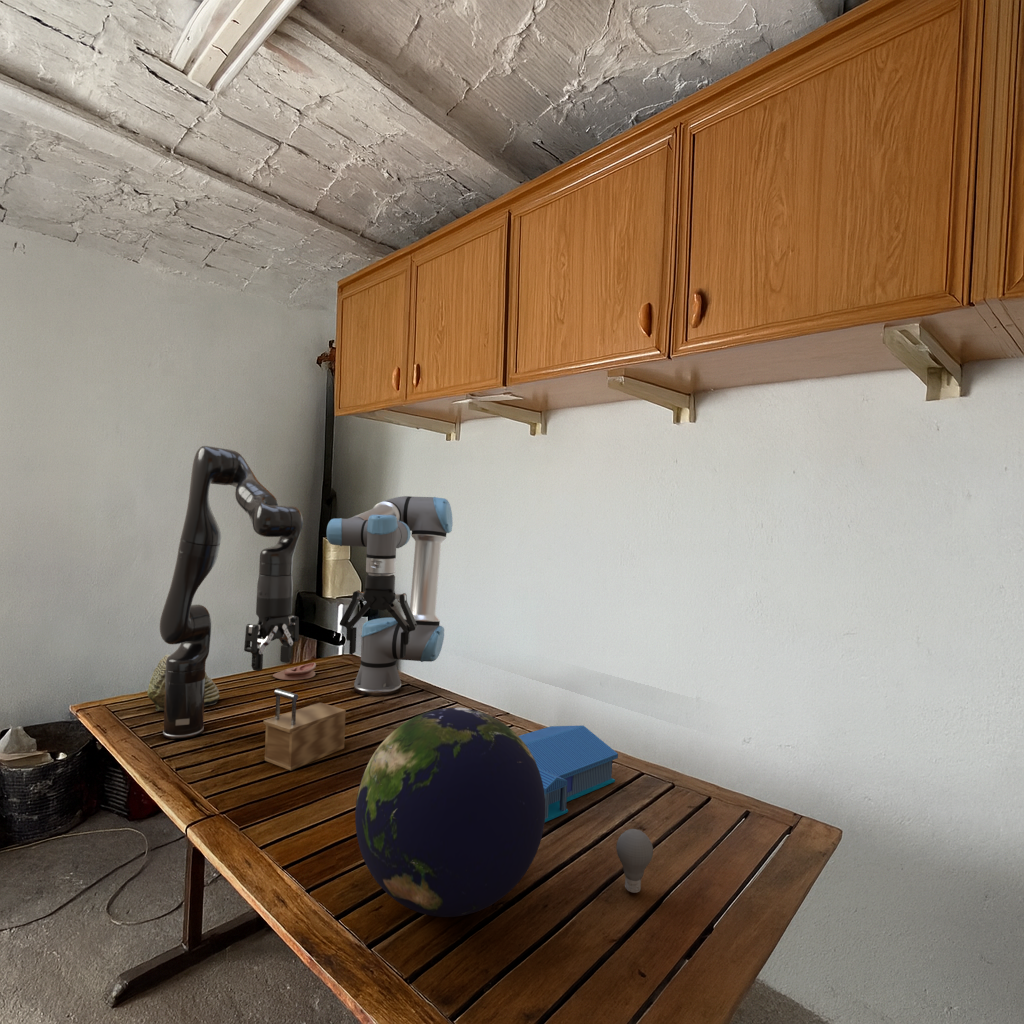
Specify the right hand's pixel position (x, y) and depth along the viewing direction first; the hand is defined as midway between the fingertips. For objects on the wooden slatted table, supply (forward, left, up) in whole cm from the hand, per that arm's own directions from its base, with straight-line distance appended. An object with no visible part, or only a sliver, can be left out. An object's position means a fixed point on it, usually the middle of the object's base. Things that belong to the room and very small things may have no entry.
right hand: (377, 655), depth 165 cm
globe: (+61, +33, -22) cm, 73 cm away
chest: (+12, -13, -22) cm, 29 cm away
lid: (+13, -13, -13) cm, 23 cm away
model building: (+21, +42, -22) cm, 52 cm away
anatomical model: (-49, -45, -22) cm, 70 cm away
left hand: (+25, -16, +2) cm, 30 cm away
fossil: (-12, -62, -22) cm, 67 cm away
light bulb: (+54, +63, -22) cm, 85 cm away
